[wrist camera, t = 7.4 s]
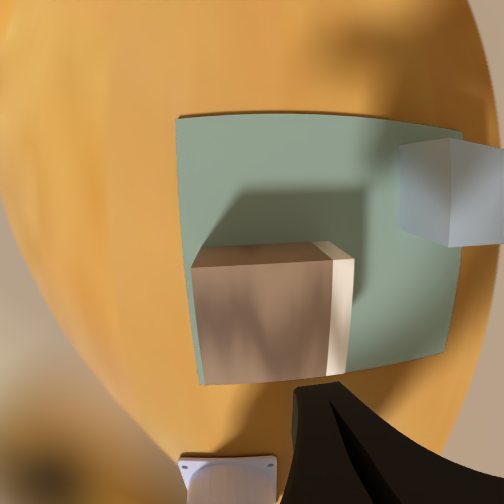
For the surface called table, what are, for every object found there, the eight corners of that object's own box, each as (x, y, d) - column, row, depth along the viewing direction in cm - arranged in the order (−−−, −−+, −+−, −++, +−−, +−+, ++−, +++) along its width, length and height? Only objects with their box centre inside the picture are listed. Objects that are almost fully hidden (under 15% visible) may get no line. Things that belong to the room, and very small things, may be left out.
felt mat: (441, 350, 20) (443, 352, 19) (200, 382, 19) (199, 384, 19) (460, 132, 16) (462, 131, 16) (176, 120, 15) (175, 119, 15)
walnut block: (344, 373, 14) (205, 385, 14) (325, 337, 18) (210, 345, 18) (354, 258, 13) (190, 267, 13) (328, 241, 17) (200, 247, 17)
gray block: (458, 228, 17) (509, 243, 12) (398, 229, 17) (448, 247, 12) (459, 152, 16) (511, 151, 11) (398, 145, 16) (449, 137, 11)
